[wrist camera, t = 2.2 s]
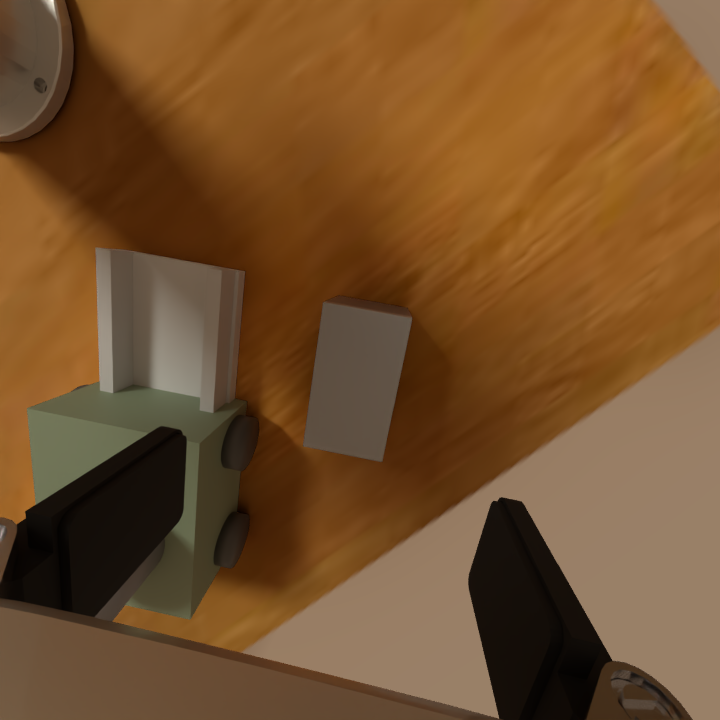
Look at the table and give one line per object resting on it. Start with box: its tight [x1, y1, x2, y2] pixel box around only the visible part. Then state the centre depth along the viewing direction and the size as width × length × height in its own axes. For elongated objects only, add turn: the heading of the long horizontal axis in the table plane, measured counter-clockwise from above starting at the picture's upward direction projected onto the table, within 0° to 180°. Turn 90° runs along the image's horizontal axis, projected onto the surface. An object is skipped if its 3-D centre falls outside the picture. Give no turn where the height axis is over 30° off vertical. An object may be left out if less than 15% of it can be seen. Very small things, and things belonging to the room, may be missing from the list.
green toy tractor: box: [27, 248, 259, 622], centre depth 23 cm, size 24×13×11 cm, turn 170°
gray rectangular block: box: [303, 296, 412, 462], centre depth 23 cm, size 9×5×6 cm, turn 170°
